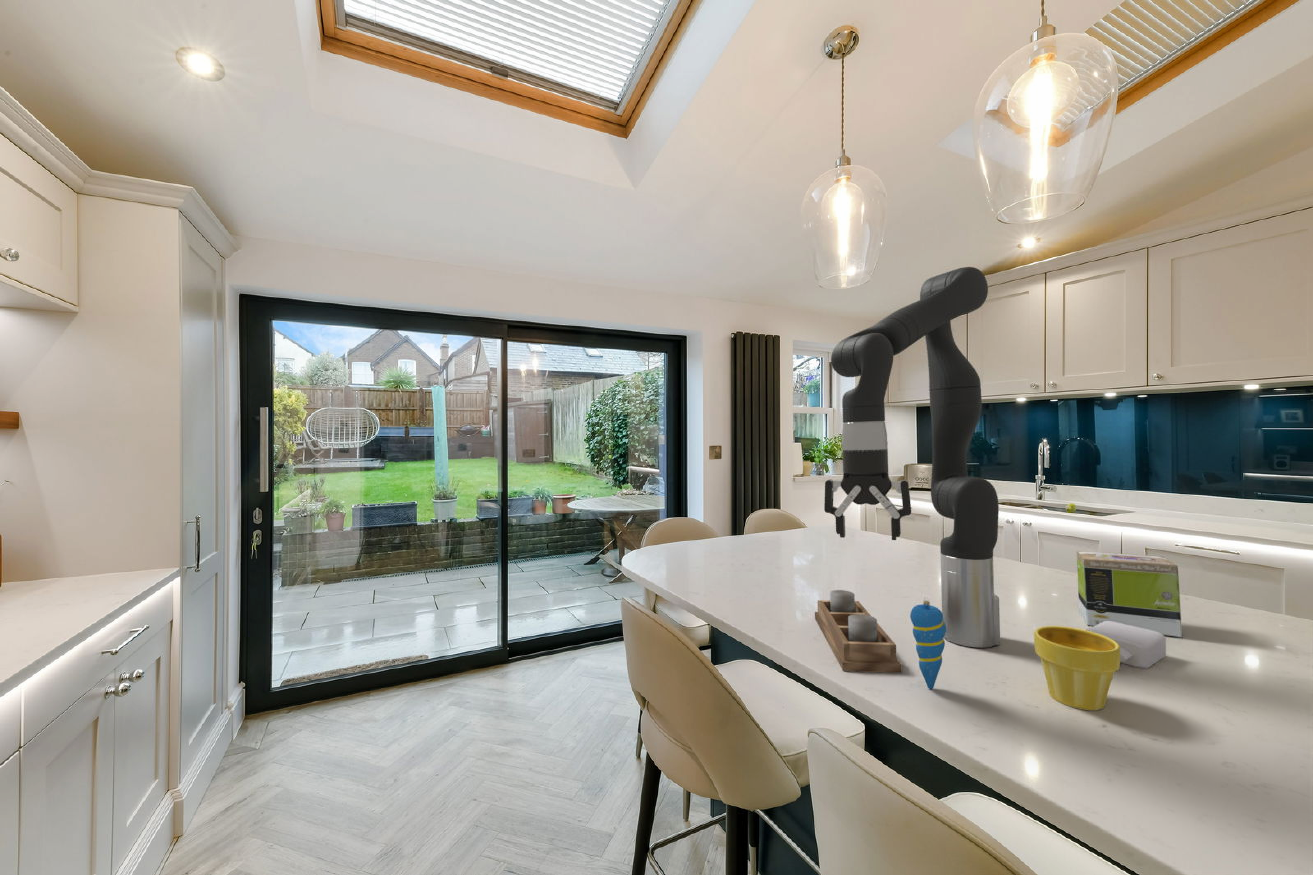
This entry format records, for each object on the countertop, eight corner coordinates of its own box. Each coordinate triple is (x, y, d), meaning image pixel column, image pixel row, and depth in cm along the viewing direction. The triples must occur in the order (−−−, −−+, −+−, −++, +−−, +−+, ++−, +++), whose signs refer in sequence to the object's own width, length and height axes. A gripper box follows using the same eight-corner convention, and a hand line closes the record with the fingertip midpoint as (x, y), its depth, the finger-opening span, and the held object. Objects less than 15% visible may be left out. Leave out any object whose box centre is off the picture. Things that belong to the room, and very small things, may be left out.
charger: (1069, 660, 94) (1103, 642, 102) (1135, 680, 86) (1166, 659, 94) (1068, 634, 94) (1102, 619, 102) (1134, 652, 86) (1165, 633, 94)
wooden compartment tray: (859, 619, 117) (859, 586, 117) (901, 672, 90) (900, 630, 90) (814, 618, 118) (814, 585, 118) (842, 670, 91) (841, 628, 91)
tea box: (1167, 623, 111) (1165, 555, 111) (1182, 639, 102) (1180, 565, 102) (1077, 612, 119) (1076, 548, 119) (1085, 626, 110) (1083, 557, 110)
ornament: (934, 699, 81) (931, 604, 81) (905, 685, 85) (902, 595, 85) (954, 691, 83) (952, 599, 83) (925, 678, 88) (922, 591, 88)
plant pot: (1130, 725, 72) (1128, 656, 72) (1039, 706, 78) (1037, 642, 78) (1113, 694, 81) (1111, 632, 81) (1032, 679, 87) (1031, 621, 87)
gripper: (909, 446, 91) (912, 536, 91) (826, 447, 98) (829, 532, 98) (908, 447, 85) (912, 544, 85) (819, 449, 91) (823, 539, 91)
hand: (867, 538), depth 91 cm, fingers open, 8 cm apart
